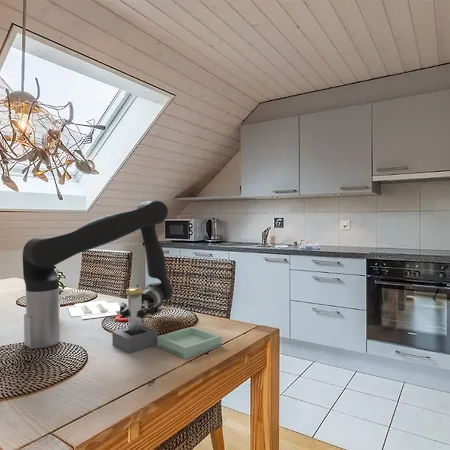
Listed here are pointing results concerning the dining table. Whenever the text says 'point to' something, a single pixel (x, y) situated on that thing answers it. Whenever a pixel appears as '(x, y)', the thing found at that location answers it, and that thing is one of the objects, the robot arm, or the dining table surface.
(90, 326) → the dining table surface
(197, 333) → the tray
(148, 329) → the socket block
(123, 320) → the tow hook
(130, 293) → the steel pin
